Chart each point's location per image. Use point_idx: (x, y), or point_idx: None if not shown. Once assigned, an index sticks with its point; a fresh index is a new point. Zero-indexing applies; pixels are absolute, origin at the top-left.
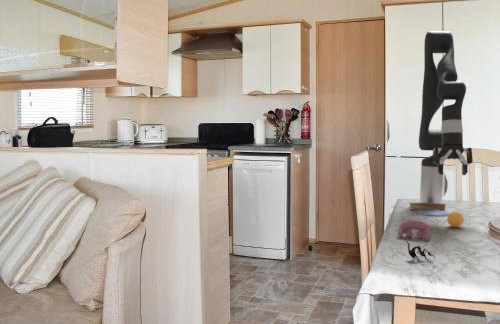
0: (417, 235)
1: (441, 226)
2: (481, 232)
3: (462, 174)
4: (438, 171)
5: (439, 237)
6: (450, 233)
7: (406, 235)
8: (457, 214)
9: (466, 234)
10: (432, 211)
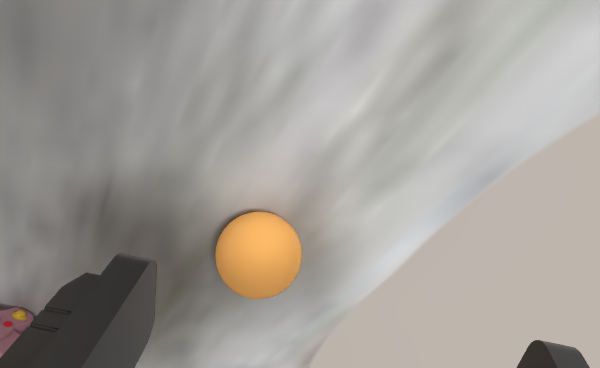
0: None
1: (202, 205)
2: (334, 309)
3: (535, 351)
4: (61, 312)
5: None
6: (193, 300)
7: (12, 309)
8: (250, 297)
9: (252, 319)
10: None
